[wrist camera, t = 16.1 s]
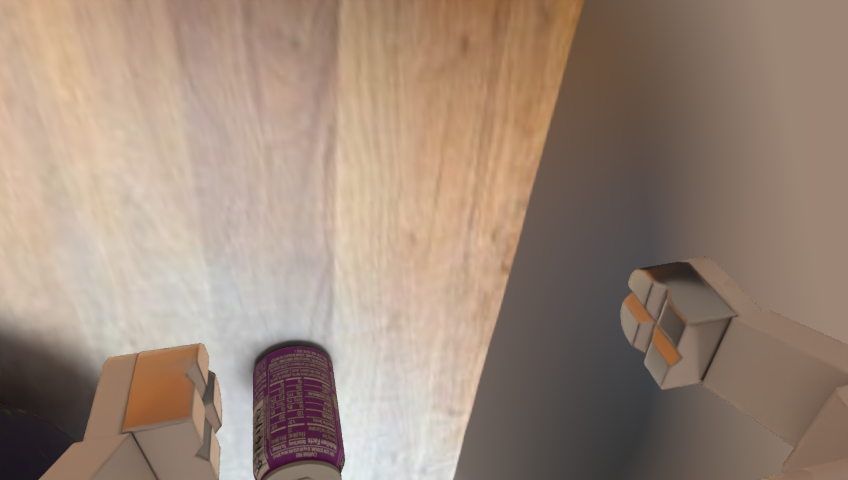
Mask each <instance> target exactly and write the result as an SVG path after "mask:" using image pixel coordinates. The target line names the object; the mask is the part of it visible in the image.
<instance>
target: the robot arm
mask: <svg viewBox="0 0 848 480" xmlns="http://www.w3.org/2000/svg"><path fill="white" fill-rule="evenodd" d="M628 285H629V286H630V288H631V290H632V292H631V294H630V295H628V297H627V298H626V299H625V300H624V301H623V304H622V308H621V312H620V315H621V322H622V327H623V330H624V333H625V335H626V337H627V339H628V340H629V342H630V343H631V344H632V346H633V347H635V348H637V349H639V350H640V351H642V352H644V353H645V359H644V364H645V366H646V367H647V368H648V370H649V371H650V373H651V374H652V376H653V377H654V379H655V380H656V381H657V383H658V384H659V386H660V387H661V389H662V390H664V389H669V388H674V387H680V386H685V385H691V384H697V383H702V382H703V383H702V385H703V386H704V387H706V388H707V389H709V390H710V391H712V392H713V393H715V394H716V395H718V396H719V397H720V398H722V399H723V400H725V401H726V402H728V403H729V404H731V405H732V406H734V407H735V408H737V409H738V410H739V411H741V412H742V413H744V414H746V415H747V416H748V417H750V418H751V419H753V420H754V421H756V422H757V423H759V424H760V425H762V426H763V427H765V428H766V429H768V430H769V431H770V432H772V433H773V434H775V435H776V436H778V437H779V438H781V439H782V440H784V441H785V442H787V443H788V444H790V445H791V446H793V447H794V449H793V451H792V452H791V453H790V455H789V456H788V458H787V459H786V461H785V462H784V464H783V468H782V472H783V474H779V475H775V476H771V477H767V478H763V479H759V480H848V344H845V343H843V342H841V341H839V340H836V339H834V338H832V337H830V336H827V335H825V334H823V333H821V332H818V331H816V330H814V329H812V328H809V327H807V326H805V325H803V324H800V323H798V322H796V321H793V320H791V319H789V318H787V317H784V316H782V315H780V314H778V313H775V312H773V311H763V310H762V309H761V308H760V307H759V306H758V305H757V304H756V303H755V302H754V301H753V300H752V299H751V298H750V297H749V296H748V295H747V294H746V293H745V292H744V291H743V290H742V289H741V288H740V287H739V286H738V285H737V284H736V283H735V282H734V281H733V280H732V279H731V277H729V275H727V273H725V271H724V270H722V268H720V266H719V265H718V264H717V263H716V262H715V261H714V260H712V259H710V258H708V257H702V258H696V259H691V260H686V261H682V262H673V263H668V264H662V265H657V266H651V267H646V268H640V269H636V270H635V271H634V272H633V273H632V274H631V276H630V280H629V283H628ZM208 365H209V356H208V353H207V351H206V348H205V346H204V344H201V343H199V344H192V345H185V346H178V347H171V348H164V349H158V350H151V351H144V352H140V353H134V354H127V355H120V356H113V357H109V358H108V359H107V361H106V362H105V363H104V365H103V367H102V371H101V375H100V379H99V382H98V386H97V390H96V394H95V398H94V401H93V405H92V409H91V413H90V417H89V420H88V424H87V428H86V432H85V436H84V439H83V442H78V443H73V444H72V445H71V446H70V447H69V448H68V449H67V450H66V451H65V453H64V454H63V455H62V456H61V457H60V458H59V459H58V460H57V461H56V462H55V463H54V464H53V465H52V466H51V467H50V468H49V469H48V470H47V471H46V472H45V474H44V475H43V476H42V477H41V478H40V479H39V480H219V465H220V446H219V443H218V440H217V438H216V435H215V434H216V432H217V431H218V430H219V428H220V427H221V426H222V404H221V394H220V389H219V384H218V381H217V378H216V375H215V373H213V372H211V371H209V370H208Z"/></svg>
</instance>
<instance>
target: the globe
mask: <svg viewBox="0 0 848 480" xmlns="http://www.w3.org/2000/svg"><path fill="white" fill-rule="evenodd" d="M73 443H76V442H75V441H74V440H73V439H72V438H70V437H69V436H68V435H66V434H65V433H63V432H62V431H61V430H59V429H58V428H56V427H55V426H53V425H52V424H50V423H48V422H46V421H45V420H43V419H41V418H39V417H37V416H35V415H33V414H31V413H29V412H26V411H24V410H21V409H19V408H16V407H13V406H10V405H7V404H3V403H0V480H39V479H40V478H41V477H42V476H43V475H44V474H45V472H46V471H47V470H48V469H49V468H50V467H51V466H52V465H53V464H54V463H55V462H56V461H57V460H58V459H59V458H60V457H61V456H62V455H63V454H64V453H65V451H66V450H67V449H68V448H69V447H70V446H71V445H72V444H73Z"/></svg>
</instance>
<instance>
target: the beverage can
mask: <svg viewBox="0 0 848 480" xmlns="http://www.w3.org/2000/svg"><path fill="white" fill-rule="evenodd" d="M344 462H345V455H344V447H343V440H342V432H341V425H340V417H339V409H338V402H337V394H336V387H335V379H334V372H333V365H332V362H331V360H330V359H329V358H328V356H326V355H325V354H324V353H322V352H321V351H319V350H316V349H313V348H309V347H302V346H295V347H287V348H282V349H279V350H276V351H274V352H272V353H270V354H268V355H267V356H265V357H264V358H263V359H262V360H260V362H259V363H258V364H257V365H256V367H255V369H254V373H253V474H254V477H255V480H342V479H341V472H342V469H343V466H344Z"/></svg>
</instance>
